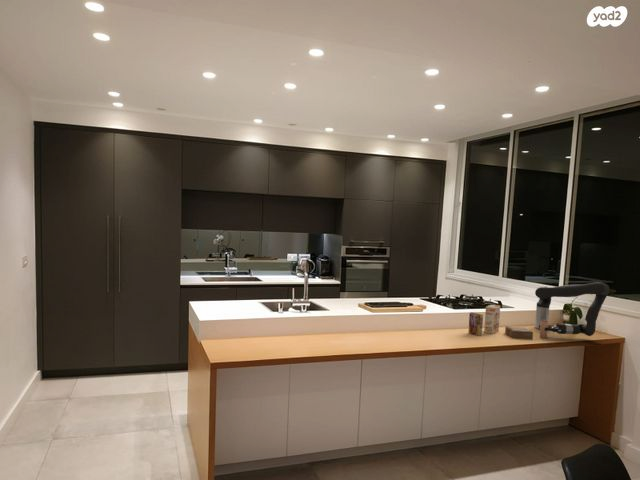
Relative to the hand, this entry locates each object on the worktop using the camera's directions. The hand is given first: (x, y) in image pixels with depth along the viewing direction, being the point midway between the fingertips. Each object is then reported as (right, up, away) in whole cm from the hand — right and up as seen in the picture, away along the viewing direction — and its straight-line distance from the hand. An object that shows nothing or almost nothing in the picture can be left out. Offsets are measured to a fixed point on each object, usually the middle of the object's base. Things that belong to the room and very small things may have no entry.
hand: (542, 327), depth 326 cm
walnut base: (-17, -6, 0) cm, 18 cm away
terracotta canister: (+1, -7, 0) cm, 7 cm away
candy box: (-49, -5, 0) cm, 49 cm away
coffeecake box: (-33, -5, +11) cm, 35 cm away
